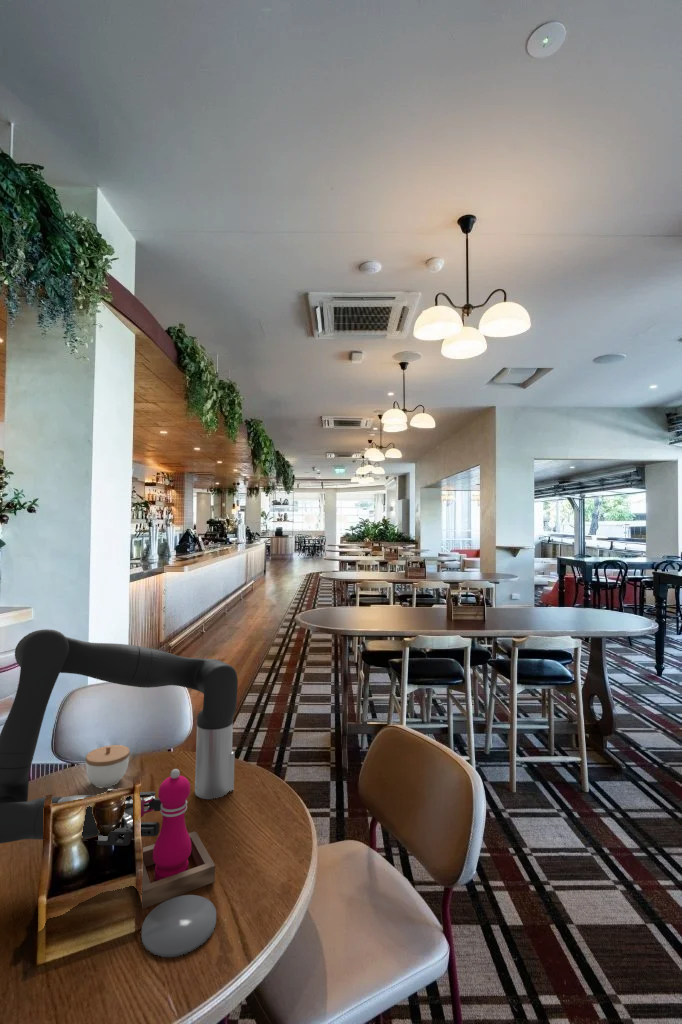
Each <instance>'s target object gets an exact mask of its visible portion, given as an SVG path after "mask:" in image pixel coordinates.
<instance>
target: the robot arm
mask: <svg viewBox="0 0 682 1024" xmlns="http://www.w3.org/2000/svg"><path fill="white" fill-rule="evenodd" d="M14 659H15V661H16V663H17V665H18V667H20V670H19V671H20V672H19V678H18V685H17V689H16V692H15V697H14V699H13V702H12V706H11V708H10V710H9V713H8V715H7V718H6V720H5V722H4V724H3V727H2V729H1V732H0V844H5V843H12V842H17V841H24V840H44V839H43V808H44V802H45V799H46V798H47V796H46V797H45V796H43V797H38V798H35V799H31V800H28V799H29V786H30V785H29V783H30V782H29V781H30V780H29V775H30V770H31V767H32V764H33V760H34V756H35V752H36V750H37V749H36V748H37V744H38V741H39V736H40V733H41V728H42V724H43V721H44V718H45V714H46V710H47V707H48V705H49V700H50V698H51V696H52V692H53V690H54V687H55V685H56V683H57V680H58V678H59V675H60V673H61V674H72V675H73V674H74V675H79V676H85V677H88V678H92V679H95V680H99V681H103V682H107V683H112V684H116V685H122V686H127V687H134V688H135V687H136V688H146V689H147V688H149V689H150V688H159V687H167V686H174V687H175V686H176V687H182V688H187V689H190V690H194V691H197V692H200V693H202V694H203V703H202V710H200V711H199V712H198V714H197V717H196V743H195V744H196V745H195V746H196V747H195V769H194V770H195V771H194V772H195V779H194V780H195V781H194V794H195V796H196V797H198V798H200V799H203V800H204V799H205V800H215V798H216V799H218V798H219V797H220V798H223V797H225V796H226V795H228V794H229V793H230V792H232V791H231V790H233V791H234V790H235V762H236V761H235V756H236V755H235V754H236V753H235V752H234V751H233V733H234V732H233V728H234V716H235V713H236V710H237V702H238V701H237V700H238V687H239V685H238V682H239V681H238V674H237V672H236V669H235V668H234V667H233V666H232V665H230V664H228V663H226V662H224V661H221V660H219V659H216V658H215V659H214V658H198V657H186V656H180V655H176V654H173V653H170V652H167V651H163V650H160V649H155V648H149V647H145V646H139V645H134V644H133V645H132V644H124V643H123V644H122V643H112V642H111V643H110V642H109V643H107V642H106V643H105V642H104V643H103V642H89V641H85V640H80V639H75V638H71V637H67V636H65V635H64V634H63V633H62V632H61V631H58V630H56V629H49V628H48V629H47V628H46V629H39V630H34V631H32V632H29V633H28V634H26V635H25V636H23V637H22V639H20V640H19V641H18V643H17V644H16V647H15V649H14ZM229 791H230V792H229ZM139 792H140V798H141V817H140V818H142V817H143V816H144V815H145V814H147V813H149V812H160V810H161V804H162V803H161V802H160V800H159V797H156V792H155V791H139ZM228 792H229V793H228ZM227 793H228V794H227ZM96 795H97V794H89V795H88V794H86V795H85V794H83V795H82V794H81V795H80V794H78V795H76V794H74V795H70V796H51V797H52V803H61V802H67V801H73V800H78V799H84V798H87V797H92V796H96ZM224 795H225V796H224ZM213 798H214V799H213ZM220 798H219V799H220ZM125 804H126V808H125V812H124V815H123V818H122V823H121V828H117V829H115V830H114V831H111V832H109V834H108V836H103V835H101V834H100V833H99V830H98V829H97V826H96V823H95V820H94V817H93V814H92V807H90V806H89V807H87V809H86V815H85V821H84V826H83V832H82V836H83V838H84V839H86V838H89V837H93V836H96V835H98V840H97V841H96V843H97V845H98V846H125V847H126V846H129V845H130V844H131V841H132V840H134V839H133V800H132V797H131V796H129V797H127V798H126V801H125ZM160 825H161V824H160V822H158V821H143V822H141V837H158V836H159V834H160V830H161V828H160V827H161V826H160ZM119 834H124V835H123V836H122V838H119Z"/></svg>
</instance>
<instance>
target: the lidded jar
mask: <svg viewBox="0 0 682 1024" xmlns="http://www.w3.org/2000/svg"><path fill="white" fill-rule="evenodd" d="M130 752H131V751H130V748H129V747H128V746H126V745H120V744H114V745H113V744H112V745H110V744H109V745H106V746H101V747H97V748H95V749H93V750H91V751H89V752H88V753H86V756H85V771H86V776H87V779H88V780H89V782H90V783H91V784H92V785H93V786H94V785H95V786H96V787H95V786H94V787H95V788H97V787H105V788H104V789H107V788H111V787H113V786H112V785H114V786H115V784H116V785H117V784H118V783H119V782H120V780H121V779H122V778H123V777H124V775H125V774H126V772H127V770H128V766H129V761H130V754H131V753H130Z"/></svg>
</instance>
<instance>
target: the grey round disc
mask: <svg viewBox="0 0 682 1024" xmlns="http://www.w3.org/2000/svg"><path fill="white" fill-rule="evenodd" d="M216 925H217V909H216V907H215V905H214V904H213V902H212V901H211V900H209V898H206V897H203V896H201V895H196V894H185V895H184V894H182V895H179V896H176V897H173V898H171V899H168V900H165V901H163V902H160V903H159V904H158V905H157V906H155V907H154V908H153V909H152V910H151V911H149V913H148V915H147V916H146V917H145V919H144V921H143V922H142V927H141V936H140V937H141V938H142V939H141V943H143V944H142V946H143V945H144V946H145V948H146V949H147V950H149V951H150V952H151V953H153V954H154V956H155V955H158V956H157V957H159V956H161V957H160V958H175V957H181V956H183V954H184V955H186V954H187V955H188V954H189V953H188V952H190V953H192V952H193V951H192V950H194V949H195V950H197V949H198V948H200V947H201V946H202V945H204V944H205V943H206V942H207V941H208V940H209V939H208V938H210V937H212V935H213V933H214V931H215V929H214V928H216ZM211 934H212V935H211ZM207 939H208V940H207ZM203 943H204V944H203ZM200 945H201V946H200ZM144 946H143V947H144ZM199 946H200V947H199ZM197 947H198V948H197ZM145 948H144V949H145ZM196 948H197V949H196ZM146 949H145V950H146ZM147 950H146V951H147ZM195 950H194V951H195ZM191 951H192V952H191ZM150 952H149V953H150ZM151 953H150V954H151ZM153 954H152V955H153ZM180 955H181V956H180Z"/></svg>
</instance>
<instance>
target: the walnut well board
mask: <svg viewBox="0 0 682 1024" xmlns="http://www.w3.org/2000/svg"><path fill="white" fill-rule="evenodd" d="M188 834H189V836H190V840H191V854H190V855H191V856H192V858H193V861H194V863H195V864H196V867H192V868H188V870H186V871H184V872H181V873H178V874H175V875H172V876H169V877H166V878H164V879H161V880H158V881H156V880H154V881H151V880H150V876H149V874H148V871H147V868H146V867H148V866H152V865H156V864H155V863H154V861H153V849H154V846H155V843H153V844H150V845H147V846H144V847H142V848H143V876H142V893H141V895H142V905H141V907H142V909H143V910H144V909H147V908H149V907H151V906H154V905H156V904H161V903H163V902H165V901H167V900H169V899H171V898H174V897H178V896H182V895H184V894H186V893H189V892H191V891H194V890H197V889H200V888H202V887H205V886H207V885H211V884H213V883H215V882H216V880H215V879H216V864H215V863H214V860H213V859H212V858H211V856H210V854H209V852H208V850H207V849H206V847H205V845H204V843H203V842H202V840H201V838H200V836H199V834H198V833H197V831H191V832H188Z"/></svg>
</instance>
